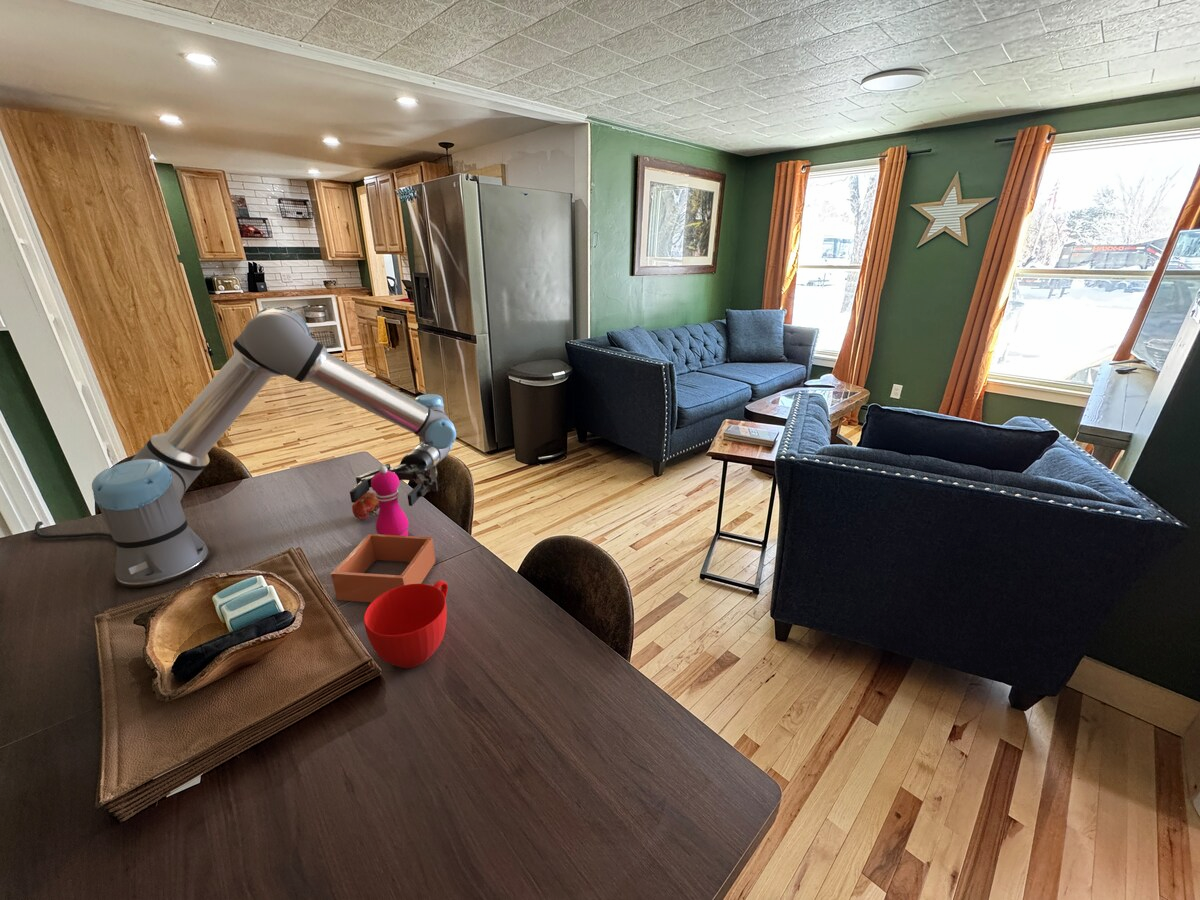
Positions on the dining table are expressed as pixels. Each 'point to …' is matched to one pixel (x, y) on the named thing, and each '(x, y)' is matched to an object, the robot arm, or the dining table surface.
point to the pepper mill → (389, 504)
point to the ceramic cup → (407, 623)
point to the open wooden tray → (368, 587)
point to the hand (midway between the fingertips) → (380, 499)
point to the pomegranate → (365, 506)
